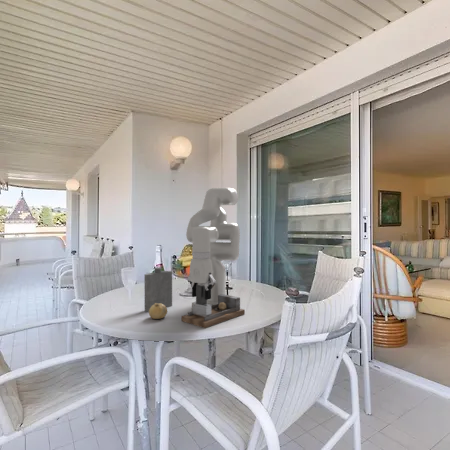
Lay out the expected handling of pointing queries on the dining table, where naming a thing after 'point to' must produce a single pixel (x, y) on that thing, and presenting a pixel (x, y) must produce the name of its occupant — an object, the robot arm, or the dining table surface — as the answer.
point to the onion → (157, 311)
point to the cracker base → (217, 312)
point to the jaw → (201, 302)
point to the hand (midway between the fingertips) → (201, 297)
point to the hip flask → (158, 288)
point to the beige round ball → (222, 306)
